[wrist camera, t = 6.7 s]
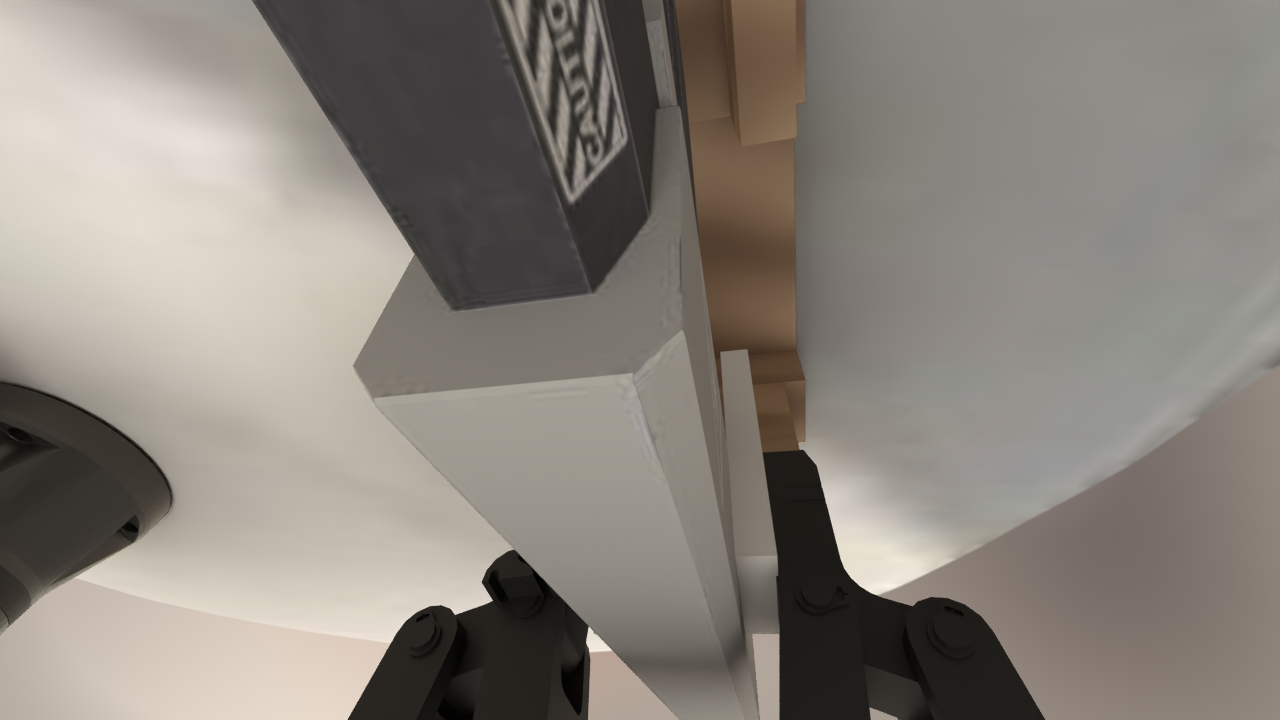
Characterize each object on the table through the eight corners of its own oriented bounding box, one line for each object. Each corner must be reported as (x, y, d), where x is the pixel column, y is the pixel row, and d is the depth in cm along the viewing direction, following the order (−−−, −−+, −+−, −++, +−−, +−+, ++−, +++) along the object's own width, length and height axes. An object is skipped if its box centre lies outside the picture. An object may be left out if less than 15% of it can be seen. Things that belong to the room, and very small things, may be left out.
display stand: (794, 411, 30) (822, 527, 23) (626, 424, 31) (609, 536, 25) (786, -75, 17) (842, -117, 11) (512, -10, 19) (420, -12, 13)
